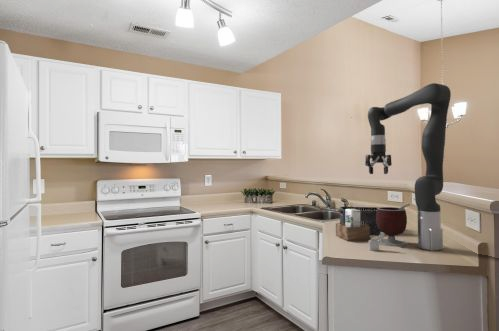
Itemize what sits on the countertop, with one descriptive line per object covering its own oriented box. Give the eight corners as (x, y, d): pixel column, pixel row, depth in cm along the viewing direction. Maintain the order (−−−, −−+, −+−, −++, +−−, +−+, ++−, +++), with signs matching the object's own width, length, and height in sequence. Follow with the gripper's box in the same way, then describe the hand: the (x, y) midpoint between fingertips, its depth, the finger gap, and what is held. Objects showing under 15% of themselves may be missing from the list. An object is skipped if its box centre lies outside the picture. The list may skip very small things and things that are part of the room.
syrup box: (345, 235, 168) (344, 208, 168) (354, 234, 170) (353, 208, 170) (351, 237, 163) (351, 210, 163) (361, 237, 164) (360, 209, 165)
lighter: (370, 250, 140) (369, 232, 140) (368, 249, 142) (368, 232, 142) (385, 250, 141) (385, 232, 141) (383, 249, 142) (383, 231, 142)
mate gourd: (372, 243, 153) (371, 203, 153) (381, 238, 163) (381, 200, 164) (406, 248, 143) (405, 205, 143) (414, 243, 153) (413, 202, 154)
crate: (369, 239, 161) (369, 226, 161) (347, 241, 159) (347, 227, 159) (356, 234, 174) (356, 222, 174) (335, 236, 171) (335, 223, 171)
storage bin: (386, 228, 193) (385, 206, 193) (396, 234, 174) (396, 210, 174) (339, 227, 197) (338, 206, 197) (344, 233, 178) (343, 210, 178)
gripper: (370, 143, 163) (370, 174, 163) (394, 143, 166) (394, 173, 165) (362, 144, 170) (362, 174, 170) (385, 144, 173) (386, 173, 173)
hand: (378, 173), depth 168 cm, fingers open, 8 cm apart
